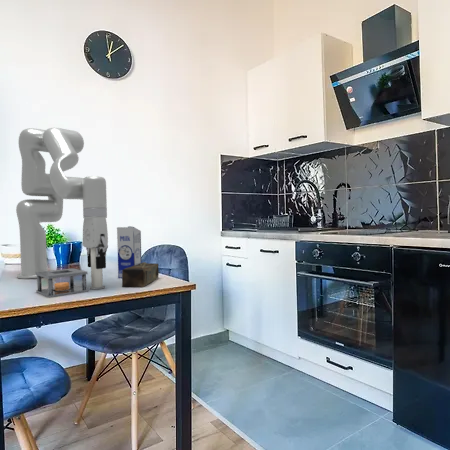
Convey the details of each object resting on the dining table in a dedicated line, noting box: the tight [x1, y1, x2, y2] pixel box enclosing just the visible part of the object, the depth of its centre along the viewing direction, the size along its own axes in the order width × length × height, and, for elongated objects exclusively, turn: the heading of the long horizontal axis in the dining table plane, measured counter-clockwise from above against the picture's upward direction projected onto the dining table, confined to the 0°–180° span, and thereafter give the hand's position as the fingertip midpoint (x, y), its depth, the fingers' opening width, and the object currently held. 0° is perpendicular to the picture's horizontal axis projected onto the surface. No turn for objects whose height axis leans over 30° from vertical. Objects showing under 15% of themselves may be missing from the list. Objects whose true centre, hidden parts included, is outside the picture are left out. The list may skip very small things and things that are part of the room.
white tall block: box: [90, 245, 104, 288], centre depth 127 cm, size 4×4×16 cm
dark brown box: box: [121, 261, 160, 288], centre depth 137 cm, size 8×19×7 cm, turn 174°
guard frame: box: [35, 267, 89, 298], centre depth 122 cm, size 12×12×6 cm
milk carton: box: [116, 225, 143, 279], centre depth 150 cm, size 7×7×20 cm
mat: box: [89, 285, 106, 291], centre depth 127 cm, size 5×5×1 cm
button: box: [53, 281, 70, 292], centre depth 122 cm, size 4×4×2 cm
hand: (96, 267), depth 127 cm, fingers open, 5 cm apart
